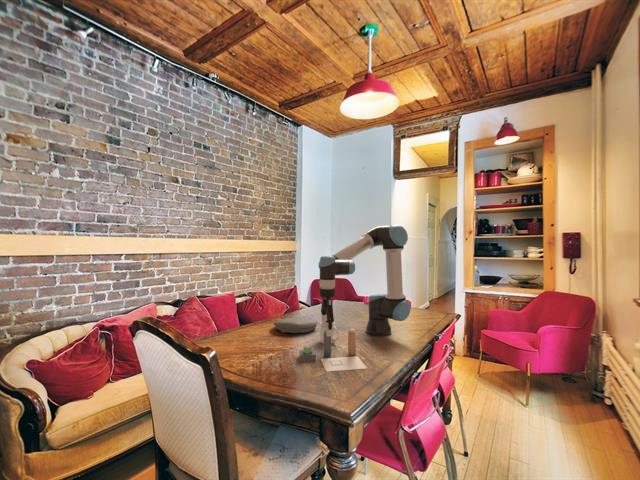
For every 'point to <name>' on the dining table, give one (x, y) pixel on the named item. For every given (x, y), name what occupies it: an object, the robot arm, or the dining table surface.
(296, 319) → the flat disc
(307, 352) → the button
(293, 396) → the dining table surface
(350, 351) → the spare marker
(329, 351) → the marker
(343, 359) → the paper
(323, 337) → the mug
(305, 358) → the button base
